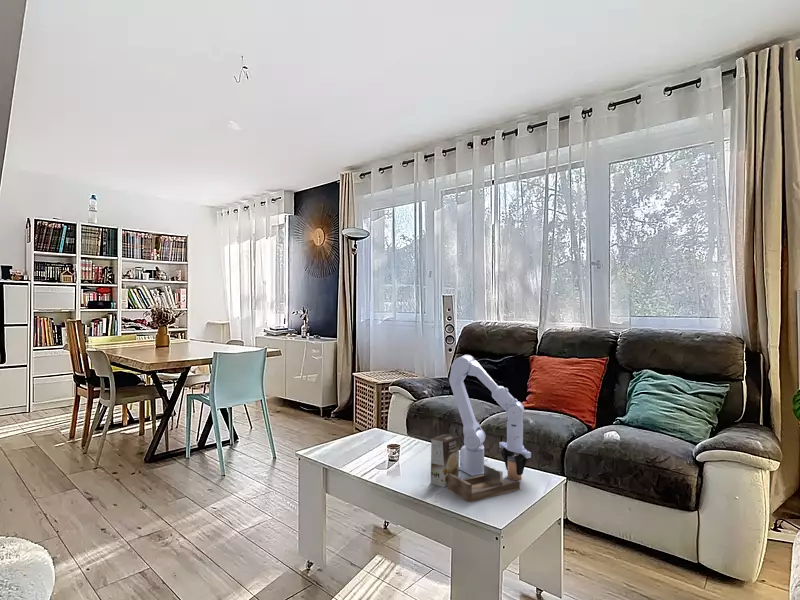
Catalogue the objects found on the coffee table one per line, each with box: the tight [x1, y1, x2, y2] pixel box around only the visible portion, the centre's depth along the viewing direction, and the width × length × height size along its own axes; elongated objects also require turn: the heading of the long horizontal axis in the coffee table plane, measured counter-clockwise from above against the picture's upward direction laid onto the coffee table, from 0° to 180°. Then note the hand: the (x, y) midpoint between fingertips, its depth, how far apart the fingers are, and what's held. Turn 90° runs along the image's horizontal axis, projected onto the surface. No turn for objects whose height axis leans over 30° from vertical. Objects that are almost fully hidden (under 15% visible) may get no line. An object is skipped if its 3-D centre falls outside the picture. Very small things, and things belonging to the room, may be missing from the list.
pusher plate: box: [484, 463, 504, 486], centre depth 172 cm, size 8×1×6 cm, turn 30°
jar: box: [506, 454, 522, 481], centre depth 181 cm, size 5×5×8 cm
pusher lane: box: [447, 473, 521, 503], centre depth 170 cm, size 12×22×6 cm, turn 120°
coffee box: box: [430, 433, 460, 488], centre depth 176 cm, size 9×6×16 cm
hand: (514, 472), depth 181 cm, fingers closed on jar, 5 cm apart
